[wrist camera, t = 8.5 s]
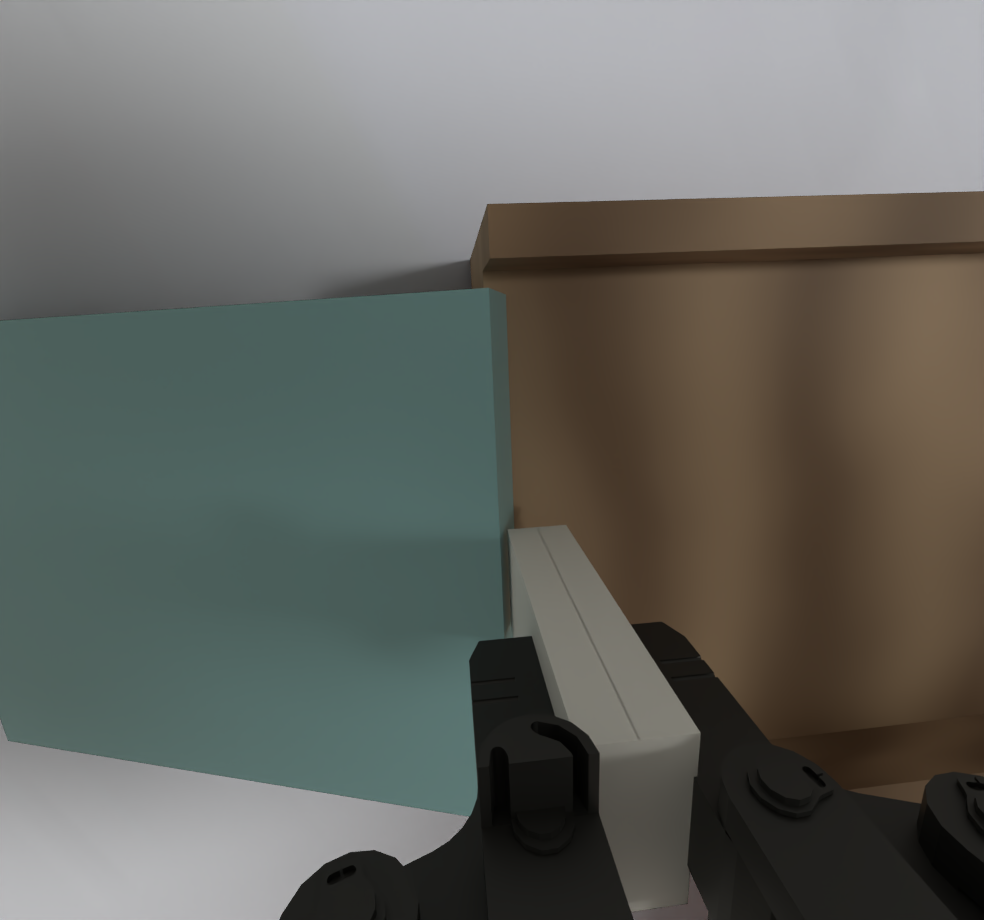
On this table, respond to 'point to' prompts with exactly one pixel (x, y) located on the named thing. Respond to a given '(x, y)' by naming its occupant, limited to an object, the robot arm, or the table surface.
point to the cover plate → (259, 537)
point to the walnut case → (770, 449)
